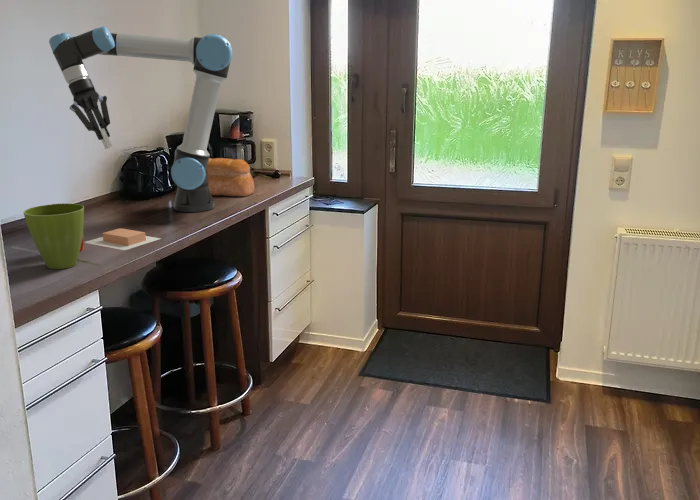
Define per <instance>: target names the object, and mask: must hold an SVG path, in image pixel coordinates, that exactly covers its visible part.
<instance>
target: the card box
mask: <svg viewBox="0 0 700 500" xmlns="http://www.w3.org/2000/svg"><path fill="white" fill-rule="evenodd" d="M146 236H147V234H146V231H145V232H144V231H139V230H132V229H127V228H116V229H113V230H109V231H106V232H102V237H103V241H105V242H110V243H116V244H121V245H127V246H130V245H133V244H136V243H140V242H143V241H146Z"/></svg>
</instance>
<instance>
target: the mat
mask: <svg viewBox="0 0 700 500" xmlns="http://www.w3.org/2000/svg"><path fill="white" fill-rule="evenodd" d="M158 240H162V238H161V237H160V238H159V237H155V236H154V237H153V236H149V235H148V236H147V235H146V241H143V242H140V243H136V244H133V245H130V246H127V245H121V244H116V243H110V242H105V241H103V236H101V237H98V238H94V239H90V240H89V239H88V240H86V241H83V243H84V244H88V245H94V246H100V247H105V248H108V249H109V248H111V249H115V250H120V251H127V250H130V249H133V248H137V247H140V246H144V245H147V244H149V243H152V242H156V241H158Z"/></svg>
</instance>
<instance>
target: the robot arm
mask: <svg viewBox="0 0 700 500" xmlns="http://www.w3.org/2000/svg"><path fill="white" fill-rule="evenodd" d="M48 43H49V45H50V46H49V47H50V49H51V51H52V55H53V56H54V58H55V60H56V63H57V64H58V66H59V68H60V71H61V73H62V75H63V78H64V81H65V82H66V84H67V85H68V89H69V91H70V93H71V95H72V97H73V103H72V104H71V105H70V106H69V109H70V111H72V112H73V113H75V115H76V116H77V117H78V119H79V120H80V121H81V122H82V124H83V126H84V127H85V128H86V130H87V131H88V132H92V131H93V132H94V134H95V135H96V137H97V140H98V141H101V142H102V145H103V146H104V149H105V150H107V149H110V148H112V147H113V145H112V143H111V140H110V137H111V135H110V132H109V130H108V126H109V125H110V124H111V120H110V115H109V110H108V104H107V102H108V101H107V100H108V97H107V96H106V95H104V96H103V95H101V94H99V93H98V92H97V91H96V88H95V85H94V84H93V80H92V79H91V78H90V74H89V72H88V71H87V68H86V66H85V64H84V61H83V60H86V59H88V58H91V57H94V56H96V55H102V56H115V57H116V56H119V57H130V58H141V59H143V58H144V59H155V60H166V61H167V60H168V61H179V62H190V64H192V65H193V69H192V71H193V72H194V74H195V80H194V81H195V82H194V86H193V91H192V96H191V101H190V106H189V110H188V115H187V120H186V125H185V129H184V134H183V138H182V139H183V140H182V143H181V144H180V145H177V147H176V149H175V150H174V159H173V164H172V166H171V169H170V174H171V178H172V181H173V182H174V184H175V185H176V187H177V188H176V194H175V198H174V201H173V209H174V210H175V211H177V212H182V213H183V212H184V213H197V212H205V211H210V210H214V208H215V200H214V198H213V195H211V193H210V190H209V186H208V170H207V165H208V161H209V158H210V156H211V155H210V153H209V151H208V150H207V148H208V145H209V141H210V134H211V130H212V126H213V123H214V122H213V121H214V118H215V117H214V116H215V113H216V109H217V104H218V98H219V95H220V91H221V85H222V83H223V82H225V81H226V80H227V78H228V75H229V69H230V67H231V66H230V65H231V61H232V60H233V59H232V58H233V48H232V45H231V43H230V42H229V40H228V39H227V38H225V36H222V35H219V34H215V33H209V34H206V35H204V36H203V37H198V36H197V37H196V36H193V37H191V39H186V38H185V39H184V38H174V37H173V38H171V37H160V36H150V35H149V36H148V35H139V34H126V33H115V32H114V33H113V32H110V30H109V29H108V27H106V26H99V27H96V28H94V29H92V30H89V31H86V32H84V33H82V34H77V36H72V35H71V34H70V32H62V33H57V34H55V35H53V36H51V37H50V38H49V40H48ZM98 102H99V103H100V109H101V110H100V109H99V105H98ZM79 107H81V108H82V109H83V110H81V109H80V108H79ZM83 111H84V113H85V114H86V115H85V114H84V113H83Z"/></svg>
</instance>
